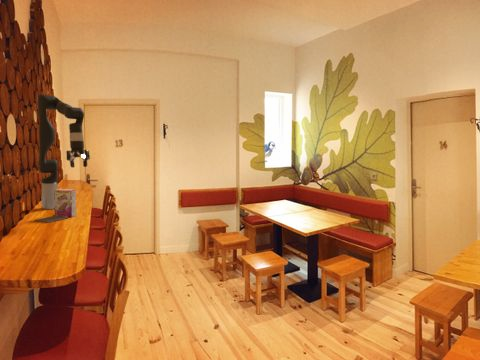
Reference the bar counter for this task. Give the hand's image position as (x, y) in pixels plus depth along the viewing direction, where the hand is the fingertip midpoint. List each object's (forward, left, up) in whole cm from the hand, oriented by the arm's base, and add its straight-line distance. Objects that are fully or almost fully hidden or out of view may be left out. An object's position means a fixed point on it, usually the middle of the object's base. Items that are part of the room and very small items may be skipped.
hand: (78, 167), depth 207 cm
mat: (-4, -16, -30) cm, 34 cm away
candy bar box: (-5, -6, -30) cm, 31 cm away
